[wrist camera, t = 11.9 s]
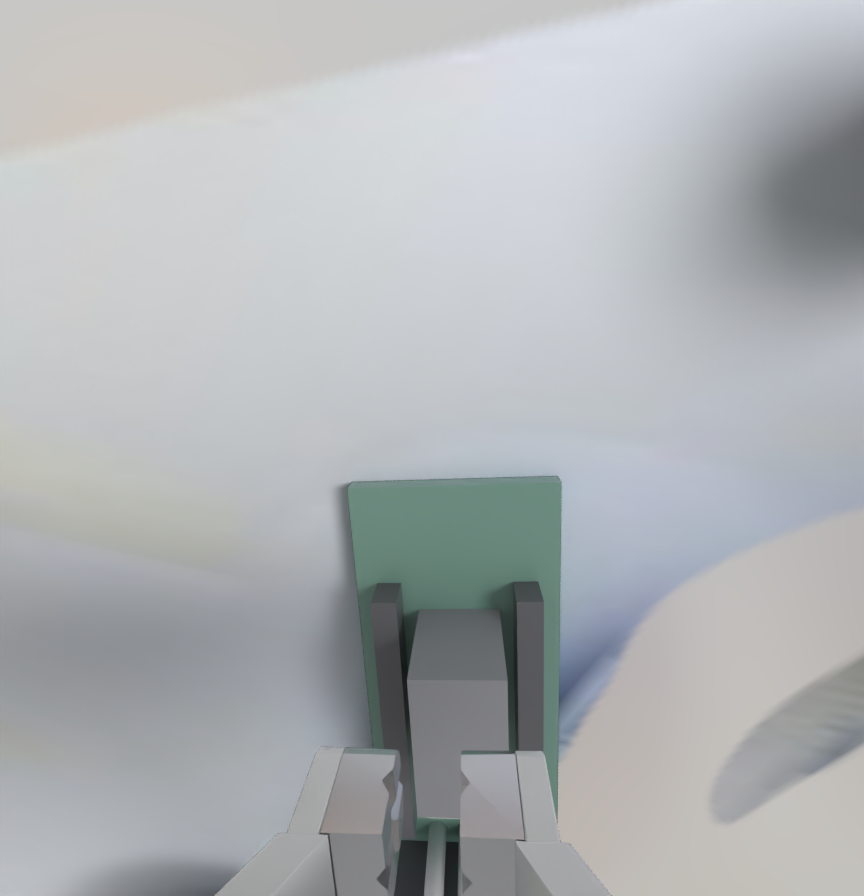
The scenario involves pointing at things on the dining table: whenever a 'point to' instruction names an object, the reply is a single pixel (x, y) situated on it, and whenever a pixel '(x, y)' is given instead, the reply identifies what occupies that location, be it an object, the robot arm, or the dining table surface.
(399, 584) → the header board
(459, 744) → the plug
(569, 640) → the dining table surface
